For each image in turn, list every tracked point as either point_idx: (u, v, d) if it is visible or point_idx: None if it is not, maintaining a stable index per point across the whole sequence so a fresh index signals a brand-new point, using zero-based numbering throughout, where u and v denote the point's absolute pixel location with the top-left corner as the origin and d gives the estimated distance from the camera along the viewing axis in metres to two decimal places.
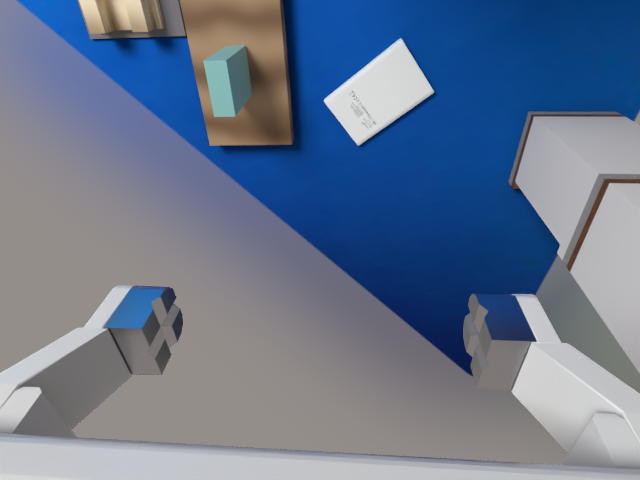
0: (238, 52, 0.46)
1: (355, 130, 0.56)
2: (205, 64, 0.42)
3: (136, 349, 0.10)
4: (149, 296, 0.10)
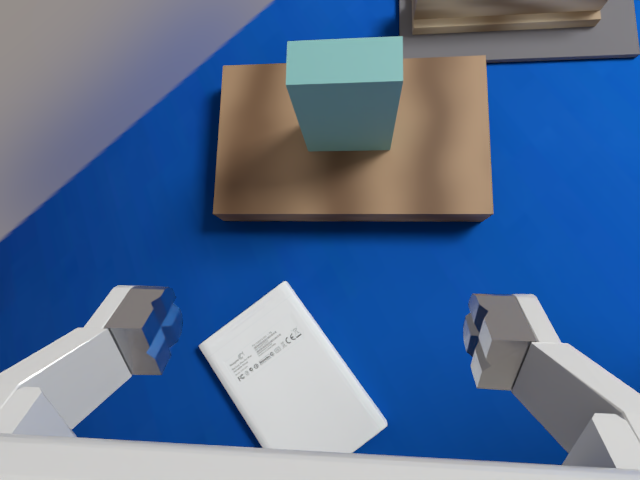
0: (391, 127, 0.25)
1: (228, 340, 0.29)
2: (395, 39, 0.20)
3: (136, 349, 0.10)
4: (149, 296, 0.10)
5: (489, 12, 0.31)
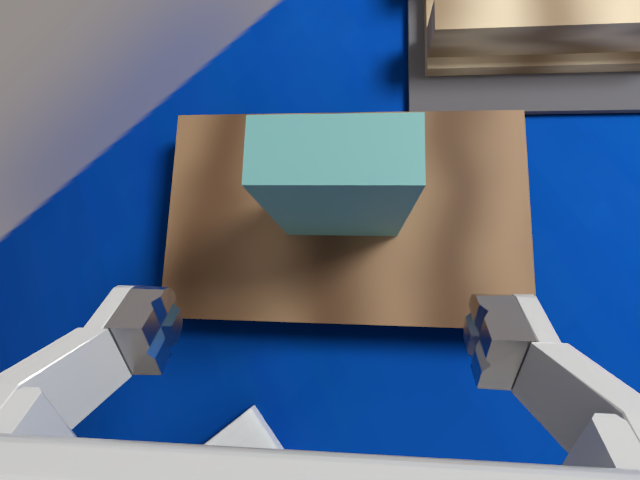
0: (401, 221, 0.18)
1: None
2: (413, 116, 0.13)
3: (136, 349, 0.10)
4: (149, 296, 0.10)
5: (526, 51, 0.23)
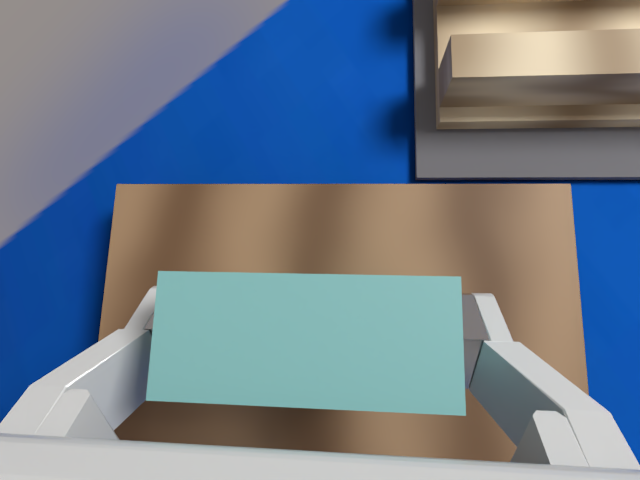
0: None
1: None
2: (441, 284, 0.08)
3: None
4: None
5: (569, 101, 0.18)
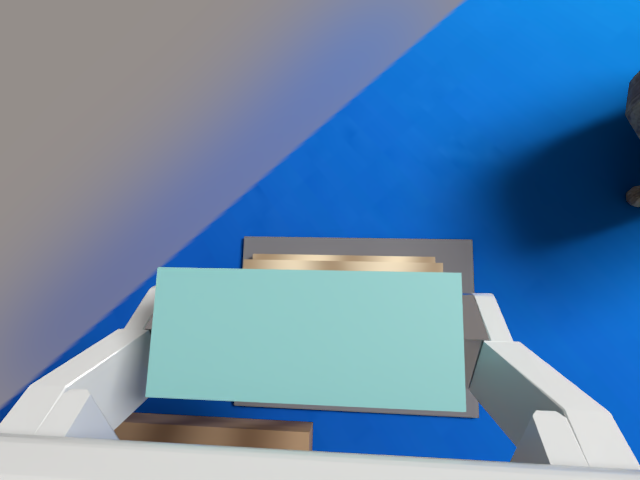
0: None
1: None
2: (441, 280, 0.07)
3: None
4: None
5: None
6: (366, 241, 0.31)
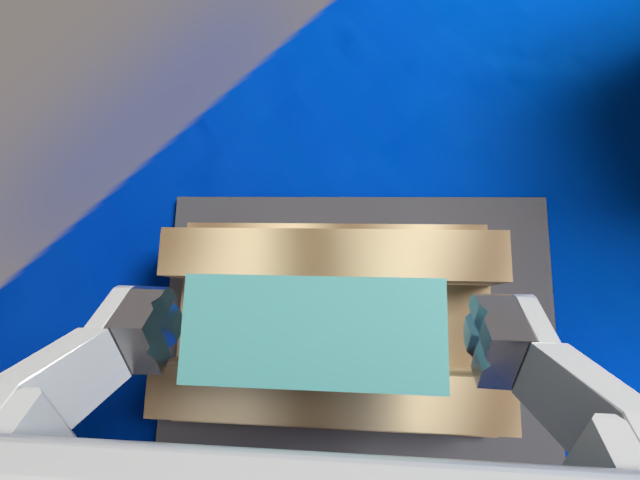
0: None
1: None
2: (429, 285, 0.09)
3: (136, 349, 0.10)
4: (149, 296, 0.10)
5: None
6: (372, 202, 0.19)
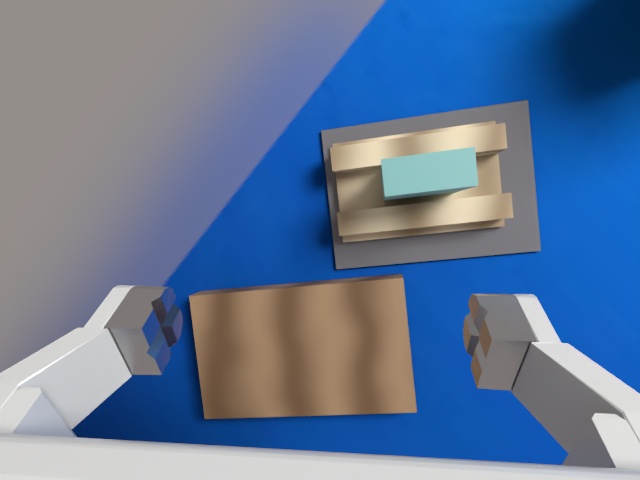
0: (459, 190, 0.31)
1: None
2: (469, 150, 0.25)
3: (136, 349, 0.10)
4: (149, 296, 0.10)
5: None
6: (430, 117, 0.35)
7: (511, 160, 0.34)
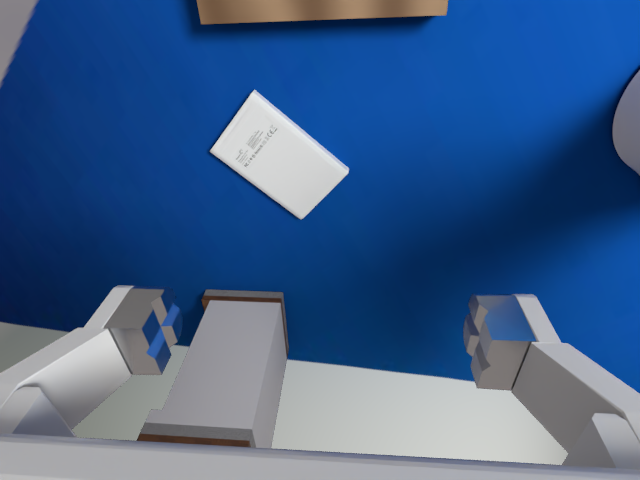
0: None
1: (228, 143, 0.41)
2: None
3: (136, 349, 0.10)
4: (149, 296, 0.10)
5: None
6: None
7: None
